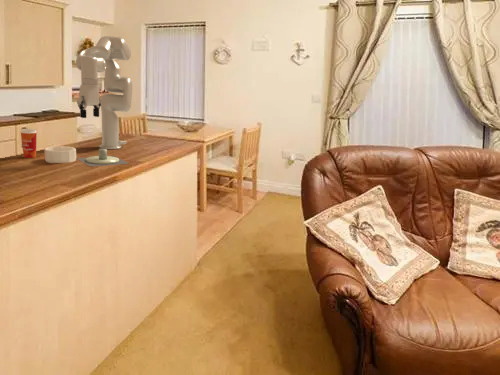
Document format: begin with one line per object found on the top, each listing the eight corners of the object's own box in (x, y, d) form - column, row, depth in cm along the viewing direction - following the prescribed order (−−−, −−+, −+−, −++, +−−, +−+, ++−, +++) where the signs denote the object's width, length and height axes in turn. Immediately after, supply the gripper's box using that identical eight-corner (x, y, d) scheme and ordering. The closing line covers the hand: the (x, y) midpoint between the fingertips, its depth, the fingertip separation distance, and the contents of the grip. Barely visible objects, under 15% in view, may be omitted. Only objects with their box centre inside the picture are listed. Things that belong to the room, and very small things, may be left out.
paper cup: (17, 157, 217) (16, 129, 213) (30, 154, 223) (29, 127, 220) (29, 159, 214) (28, 131, 210) (42, 156, 221) (40, 129, 217)
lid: (111, 156, 232) (111, 145, 230) (124, 163, 220) (124, 151, 219) (81, 158, 222) (81, 147, 220) (93, 165, 210) (93, 153, 209)
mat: (113, 156, 235) (113, 155, 235) (129, 164, 220) (129, 163, 220) (76, 159, 222) (76, 158, 222) (90, 167, 207) (90, 166, 207)
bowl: (70, 157, 226) (70, 145, 224) (79, 162, 216) (79, 150, 214) (41, 158, 217) (41, 147, 215) (50, 164, 207) (49, 152, 205)
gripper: (94, 82, 221) (94, 115, 226) (70, 81, 206) (71, 117, 210) (106, 83, 219) (107, 116, 223) (83, 82, 203) (84, 118, 207)
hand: (89, 117), depth 217 cm, fingers open, 9 cm apart
